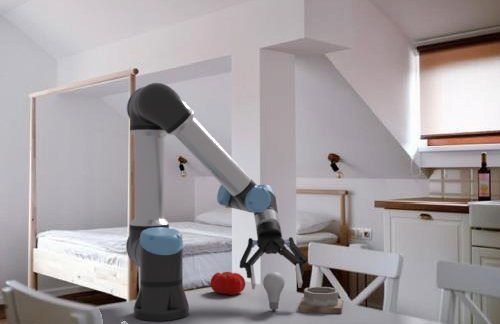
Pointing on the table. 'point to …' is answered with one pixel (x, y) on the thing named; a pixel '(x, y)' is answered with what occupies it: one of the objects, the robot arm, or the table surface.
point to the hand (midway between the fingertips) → (277, 286)
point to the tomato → (227, 283)
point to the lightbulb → (273, 288)
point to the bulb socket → (321, 300)
